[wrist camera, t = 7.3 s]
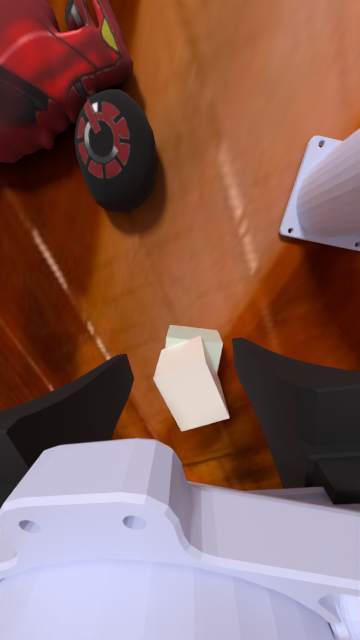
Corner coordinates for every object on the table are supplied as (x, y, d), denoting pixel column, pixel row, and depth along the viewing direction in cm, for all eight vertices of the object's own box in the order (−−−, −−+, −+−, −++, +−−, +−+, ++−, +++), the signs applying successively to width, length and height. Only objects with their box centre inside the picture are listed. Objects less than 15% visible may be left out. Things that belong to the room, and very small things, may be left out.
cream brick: (200, 335, 18) (205, 361, 13) (219, 380, 20) (229, 418, 15) (161, 349, 19) (153, 379, 14) (183, 392, 21) (181, 431, 16)
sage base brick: (217, 329, 22) (223, 343, 18) (209, 369, 24) (213, 390, 20) (170, 324, 22) (166, 336, 18) (166, 364, 24) (162, 384, 20)
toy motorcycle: (159, 218, 20) (173, -41, 12) (148, 214, 15) (159, -203, 8) (-51, 191, 20) (-158, -69, 13) (-124, 180, 16) (-351, -232, 8)
